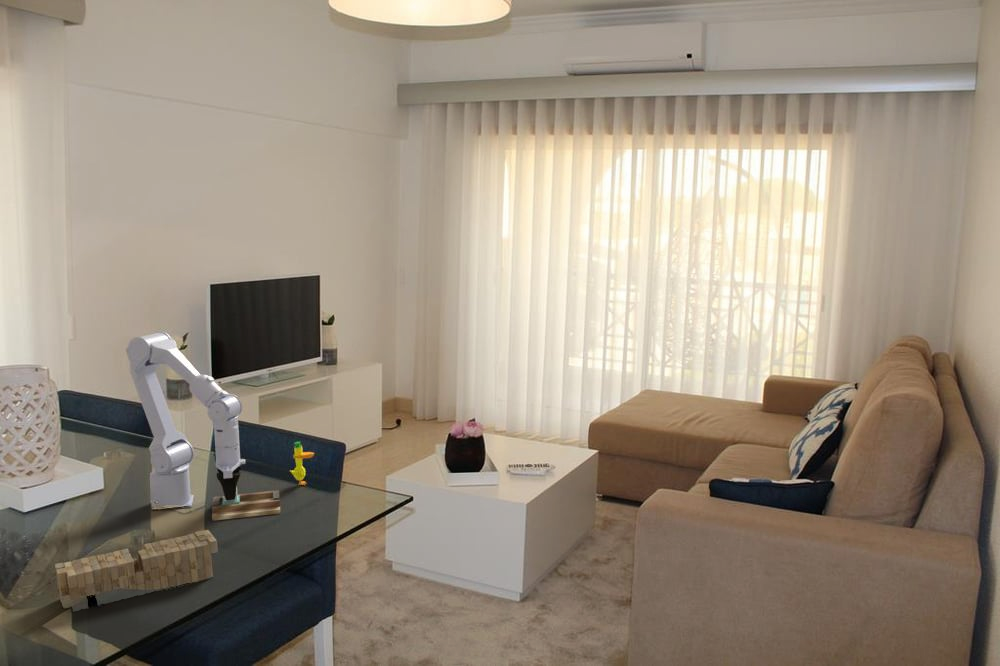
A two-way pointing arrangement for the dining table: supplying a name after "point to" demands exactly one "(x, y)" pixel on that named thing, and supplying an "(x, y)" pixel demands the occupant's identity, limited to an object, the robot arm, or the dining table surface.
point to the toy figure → (300, 462)
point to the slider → (230, 502)
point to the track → (247, 506)
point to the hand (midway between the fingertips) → (230, 497)
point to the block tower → (140, 567)
